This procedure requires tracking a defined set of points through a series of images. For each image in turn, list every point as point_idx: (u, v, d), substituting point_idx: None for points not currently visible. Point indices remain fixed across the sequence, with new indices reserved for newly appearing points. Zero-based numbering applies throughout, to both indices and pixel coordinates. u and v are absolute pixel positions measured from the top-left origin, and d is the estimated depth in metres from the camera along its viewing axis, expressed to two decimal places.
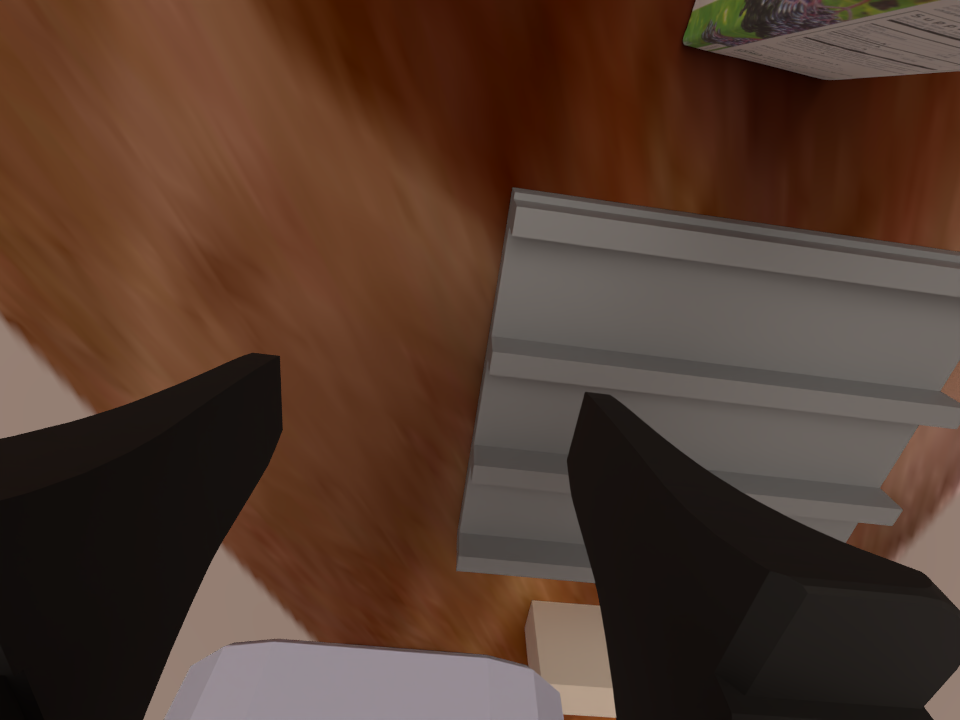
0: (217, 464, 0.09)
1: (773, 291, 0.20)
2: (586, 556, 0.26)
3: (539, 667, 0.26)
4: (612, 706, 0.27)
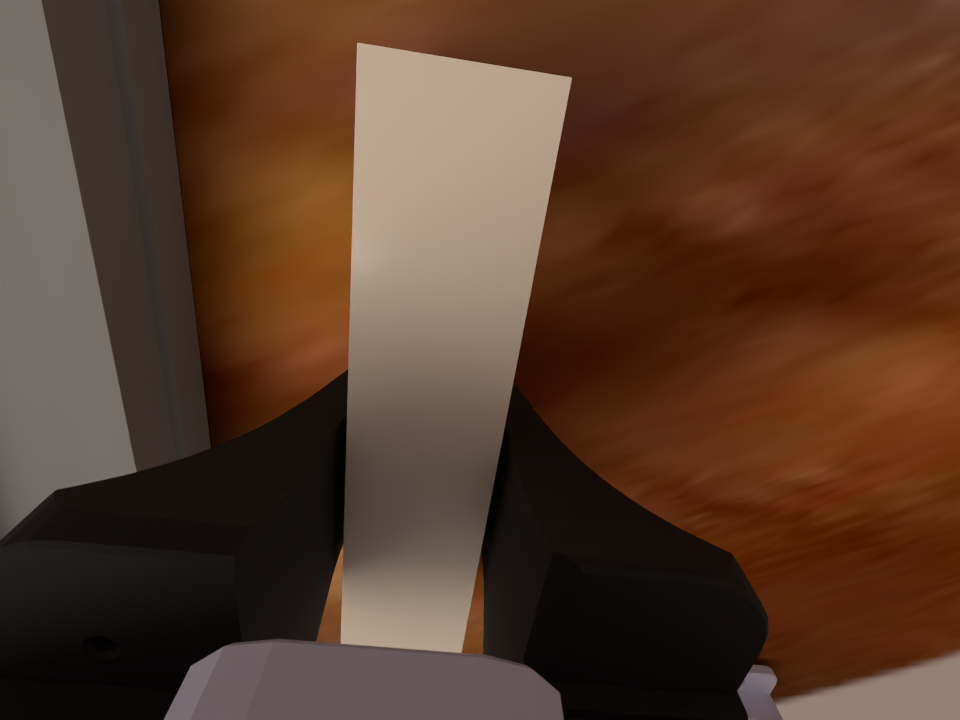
0: (343, 477, 0.09)
1: None
2: None
3: None
4: (418, 626, 0.10)
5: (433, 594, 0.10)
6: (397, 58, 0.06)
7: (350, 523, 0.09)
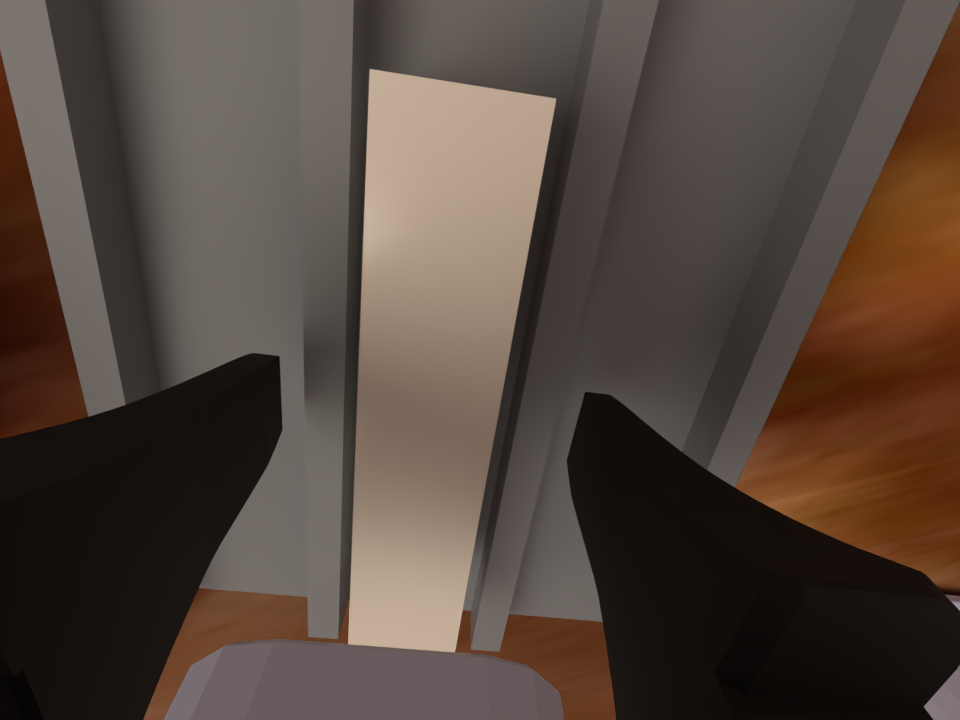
0: (217, 464, 0.09)
1: (189, 305, 0.13)
2: None
3: None
4: (420, 595, 0.11)
5: (435, 564, 0.11)
6: (404, 82, 0.07)
7: (359, 498, 0.10)
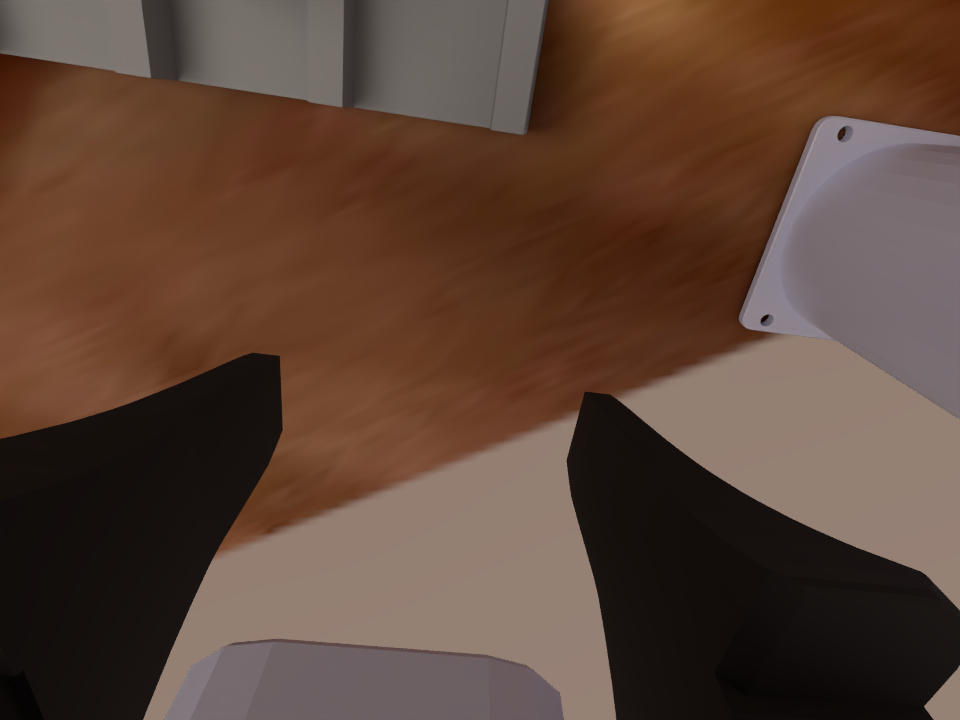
0: (217, 464, 0.09)
1: None
2: None
3: None
4: None
5: None
6: None
7: None
